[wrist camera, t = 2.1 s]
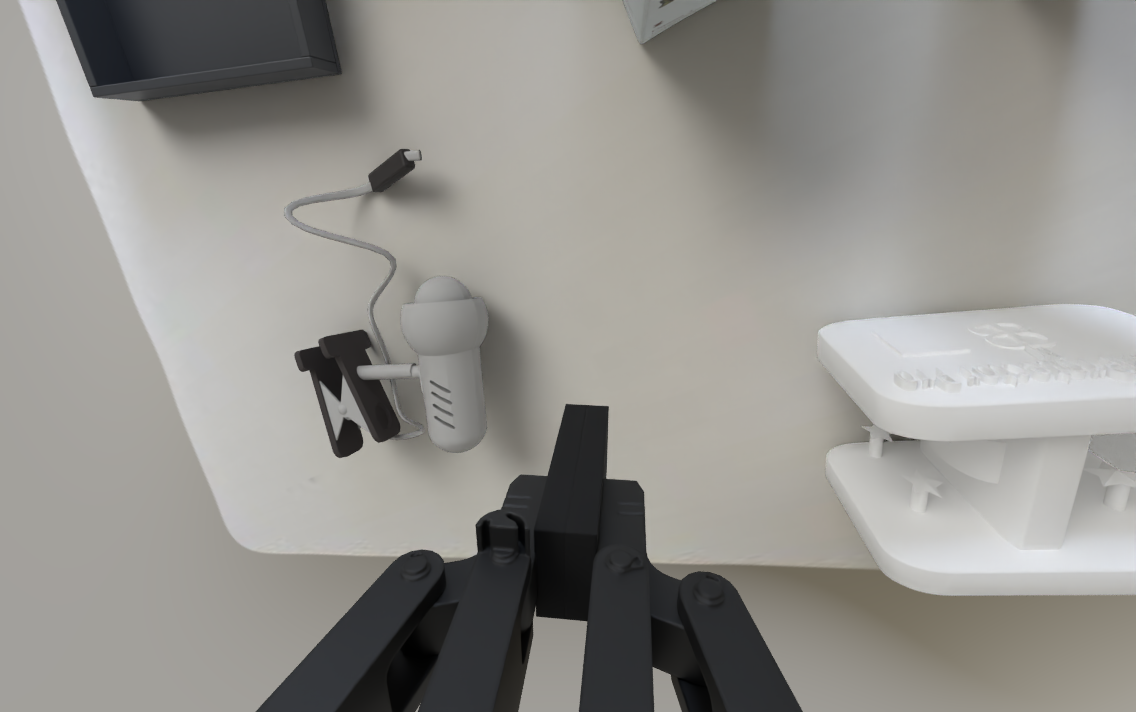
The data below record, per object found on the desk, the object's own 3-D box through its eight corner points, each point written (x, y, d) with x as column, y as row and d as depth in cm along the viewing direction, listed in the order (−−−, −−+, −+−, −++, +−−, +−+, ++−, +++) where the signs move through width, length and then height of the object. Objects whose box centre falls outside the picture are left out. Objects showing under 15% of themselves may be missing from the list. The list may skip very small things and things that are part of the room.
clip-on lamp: (319, 180, 35) (357, 441, 37) (239, 161, 28) (291, 475, 31) (485, 156, 32) (513, 440, 34) (435, 129, 26) (474, 478, 28)
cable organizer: (800, 461, 35) (874, 600, 24) (806, 310, 31) (897, 397, 21) (1051, 451, 33) (1256, 599, 22) (1091, 287, 29) (1361, 370, 18)
